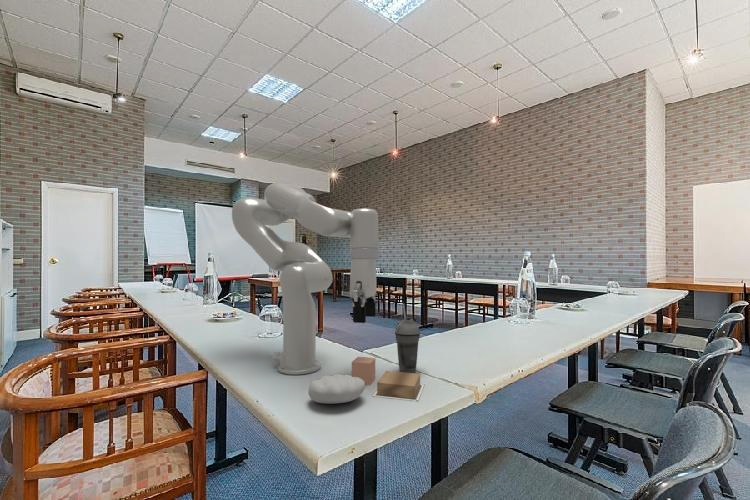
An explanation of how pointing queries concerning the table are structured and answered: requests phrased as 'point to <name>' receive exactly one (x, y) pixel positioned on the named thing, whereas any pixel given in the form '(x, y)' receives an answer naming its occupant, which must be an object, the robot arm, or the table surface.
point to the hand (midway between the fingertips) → (364, 319)
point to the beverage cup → (407, 344)
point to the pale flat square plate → (404, 398)
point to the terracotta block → (364, 369)
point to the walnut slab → (398, 384)
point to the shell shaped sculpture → (336, 389)
